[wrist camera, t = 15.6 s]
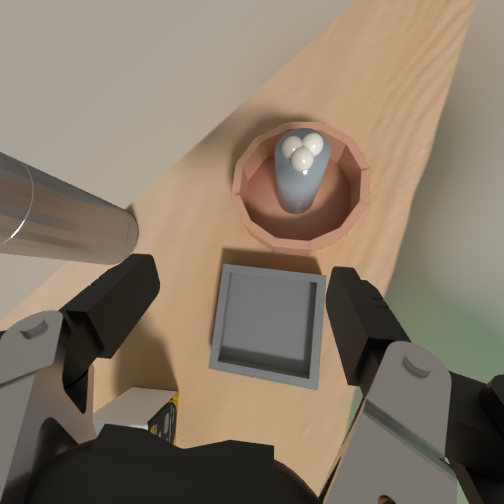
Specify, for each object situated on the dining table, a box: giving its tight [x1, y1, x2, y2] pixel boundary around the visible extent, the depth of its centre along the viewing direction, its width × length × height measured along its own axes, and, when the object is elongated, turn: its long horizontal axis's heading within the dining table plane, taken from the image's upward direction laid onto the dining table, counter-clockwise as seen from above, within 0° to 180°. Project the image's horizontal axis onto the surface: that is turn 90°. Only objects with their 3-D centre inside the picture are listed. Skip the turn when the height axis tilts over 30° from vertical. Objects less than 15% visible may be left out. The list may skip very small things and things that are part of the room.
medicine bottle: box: [93, 387, 178, 445], centre depth 23 cm, size 7×7×12 cm
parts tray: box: [209, 264, 326, 390], centre depth 27 cm, size 13×13×2 cm
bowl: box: [231, 122, 371, 256], centre depth 28 cm, size 16×16×5 cm
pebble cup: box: [275, 128, 330, 214], centre depth 24 cm, size 5×5×11 cm
